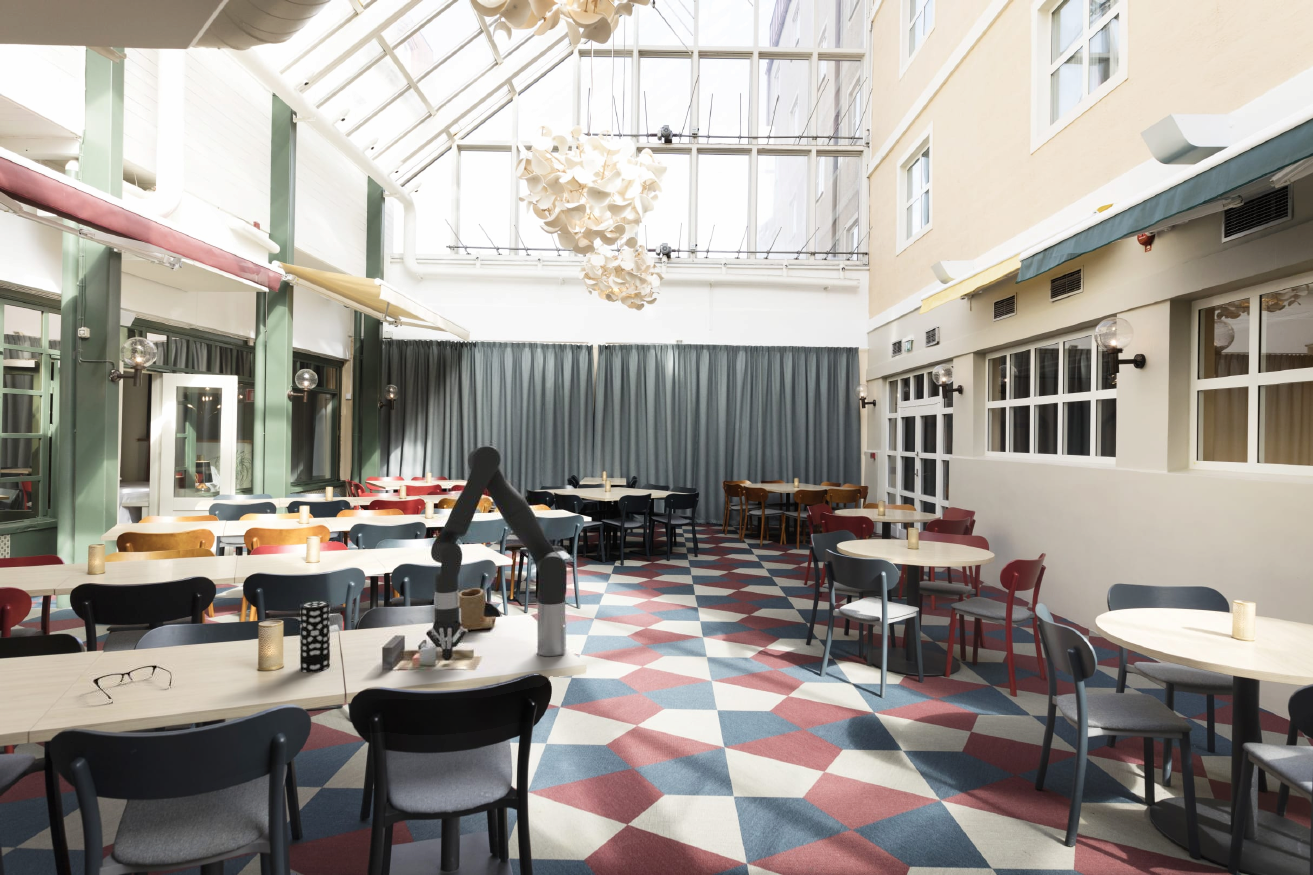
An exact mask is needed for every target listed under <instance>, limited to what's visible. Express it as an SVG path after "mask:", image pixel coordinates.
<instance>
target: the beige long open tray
mask: <svg viewBox="0 0 1313 875" xmlns="http://www.w3.org/2000/svg"><path fill="white" fill-rule="evenodd" d="M405 638H406V635H401V634H400V635H398V634H397V635H396V634H395V635H394V636H393V637H392V638H391V639H389V641H387V642H386V643H385V644H384V645H383V646H382V648H381V654H382V655H381V664H382V665H381V669H382V670H381V671H382V672H383V671H467V670H468V671H470V670H473V671H475V670H476V669H477V668H478V666H479V665H480V662H482V659H483V658H484V656H483V655H482V656H479V655H478V656H477V655H476V656H475V653H474V652H475V650H474V649H473V648H471V649H469V648H468V649H465V648H464V649H462V648H461V649H460V648H459V649H456V648H455V649H453V656H452V658H451V659H450V660H449V661H444V659H443V658H442V649H441V659H440V661H439V662H438V663H437V664H436V666H412V658H413V657H414V656H415V654H419V650H418V649H406V644H405V643H406V639H405Z"/></svg>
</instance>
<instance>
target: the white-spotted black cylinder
mask: <svg viewBox="0 0 1313 875" xmlns="http://www.w3.org/2000/svg"><path fill="white" fill-rule="evenodd" d="M299 624H300V625H299V627H300V628H299V630H300V631H299V634H300V636H299V637H300V638H299V639H300V641H299V642H300V643H299V647H300V649H299V653H300V655H299V658H300V659H299V661H300V664H299V665H300V667H299V669H300V671H301V672H302V673H308V674H309V673H312V674H313V673H317V672H322V671H325V670H328V669H329V668H330V667H331V603H330V601H327V600H315V601H314V600H313V601H307V602H304V603H301V604H300V606H299Z"/></svg>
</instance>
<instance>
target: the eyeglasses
mask: <svg viewBox="0 0 1313 875" xmlns="http://www.w3.org/2000/svg"><path fill="white" fill-rule="evenodd" d="M146 668H152V673H151V675H152V676H153V675H154V673H155V670H156V669H157V668H158V669H160V670H163V671H166V672H168V673H169V674H170V680H169V685H168V687H169V686H170V687H171V685H172V673H171V671H170V670H167V669H164V668H163V667H161V666H159V665H155V664H154V665H152V664H151V665H146V666H141V667H138V668H135V669H132V670H129V671H127V672H123V673H120V672H119V673H111V674H107V675H102V676H99V677H96V678H94V679H93V681H92V682H93V684H94V685H95V686H96V687H98V689H100V690H101V692H103V693H104V694H105V695H106V697H107V698H108V700H109V699H112V697H111V696H110V695H109V694H108V693H107V692H106V691H104V690H103V688H102V687H101V688H102V689H101V688H100V684H99V680H100V679H103V678H106V677H110V676H121V679H120V681H119V683H120V682H121V683H123V681H124V680H125V676H128V678H129V680H130V681H132V680H133V678H132V676H131V673H133V672H135V671H137V670H142V669H146Z"/></svg>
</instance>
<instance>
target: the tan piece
mask: <svg viewBox="0 0 1313 875" xmlns="http://www.w3.org/2000/svg"><path fill="white" fill-rule="evenodd" d="M486 601H487V598H486V593H485V591H484V590H483V589H482V588H480V587H473V588H469V589H463V590H461V591H460V592H459V609H461V627H463V628H464V629H468V631H474V630H483V629H492V628H494V626H495V624H496V621H497V620H496V619H497V617H496V616H485V607H486V604H487V602H486Z"/></svg>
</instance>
